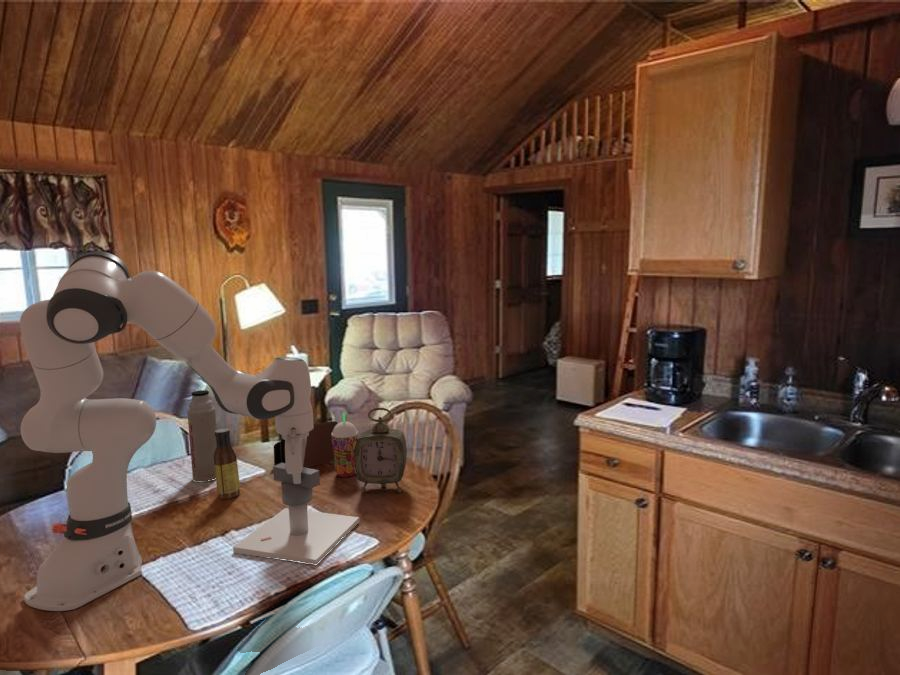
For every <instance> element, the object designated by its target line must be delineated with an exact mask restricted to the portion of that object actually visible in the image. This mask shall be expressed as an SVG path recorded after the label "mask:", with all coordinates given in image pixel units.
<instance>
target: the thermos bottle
mask: <svg viewBox="0 0 900 675" xmlns="http://www.w3.org/2000/svg"><path fill="white" fill-rule="evenodd" d="M209 394H210V393H209V390H207V389H206V390H205V389H204V390H203V389H200V390H195V391H192V392H191V401H190V402H189V403H188V404H189V405H188V408H189V409H187V411H186V412H187V424H188V433H189V435H188V437H189V446H190V460H191V471H192V473H191V475H192V481H193V480H195V481H208V480H212V479H215V478H216V475H215V466H214V452H215V450H216V447H217V445H216V444H217V442H216V436H215V431H216V430H218V429H217V427H218V426H217V416H216V407H214V406H213V405H214V404H213V400H211V399H210V396H209ZM215 480H216V479H215ZM195 481H194V482H195Z"/></svg>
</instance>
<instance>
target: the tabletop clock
mask: <svg viewBox="0 0 900 675" xmlns="http://www.w3.org/2000/svg"><path fill="white" fill-rule="evenodd" d="M375 411H385V412H387V413H388V414H389V417H387V418H384V419H383V417H382V416H379V417H378V418H377V419H375V418H373V417H371V413H373V412H375ZM367 416H368V419H370V420H371V421H372V422H375V423H374V424H373V426H372V428H371V429H370V428H369V429H365V430H363V431H361V432H360V435H358V439H357V442H356V445H355V453H354V462H355V471H356V473H355V475H356V477H357V479H358V481H359V482H361V483H364V485H363V486H362V487H361V488H360V490H359V491H360V492H361V493H365V492H366V491H367V489H366V487H367V485H368V484H374V485H380V486H381V487H382V486H384V487H386V485H387V484H395V485H396V492H397V493H401V492H403V489H402V487H400V485H399V482H401V481H402V478H403V476H404V472H405V469H406V466H407V459H408V458H407V457H408V456H407V455H408V449H407V440H406V436H405V434H404V432H403V431H402V430H400V429H393V428H390V427H389V425H388V424H387V423H385V422H389V421H390V420H391V419H392V417H393V413H392V412H391V410H389V409H387V408H385V407H375V408H373V409H371V410H370V411H368V414H367Z"/></svg>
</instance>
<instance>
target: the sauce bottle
mask: <svg viewBox="0 0 900 675" xmlns="http://www.w3.org/2000/svg"><path fill="white" fill-rule="evenodd" d="M230 435H231V431H230V429H229V428H225V427H224V428H220V429H219V428H218V429H217V430H216V431H215V436H216V442H217V444H216V445H217V447H216V450H215V452H214V466H215V475H216V479H215V482H216V492H217V494H218V495H217V496H218V498H219V499H223V500H226V499H227V500H228V499H234V498H236V497H237V496H239V495H240V494H241V491H240V488H241V484H240V475H239V466H238V465H239V464H238V458H237V455H236V451H235V450H234V448H233V446H232V443H231V438H230V437H231V436H230Z"/></svg>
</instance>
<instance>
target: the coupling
mask: <svg viewBox="0 0 900 675" xmlns="http://www.w3.org/2000/svg"><path fill="white" fill-rule="evenodd" d="M272 472H273V481H276V482H281V484H280V485H278V490H280V491H281V497H282V498H281V499H282V500H281V501H282V504H284V505H286V506H288V507H289V506H298V505H303V504H306V503H307V504H309V503H310V502H312V500H313V499H314V498H313V488H316V487H317V486H319V485H320V484H321V482H320V481H321V480H320V470H319V469H314V468H311V467H309V468H305V467H303V471H302V472H301V483H300V484H294V483H293V476H292V474H288V473H287V472H286V463H280V464H278V465H276V466H274V465H273V466H272Z"/></svg>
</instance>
